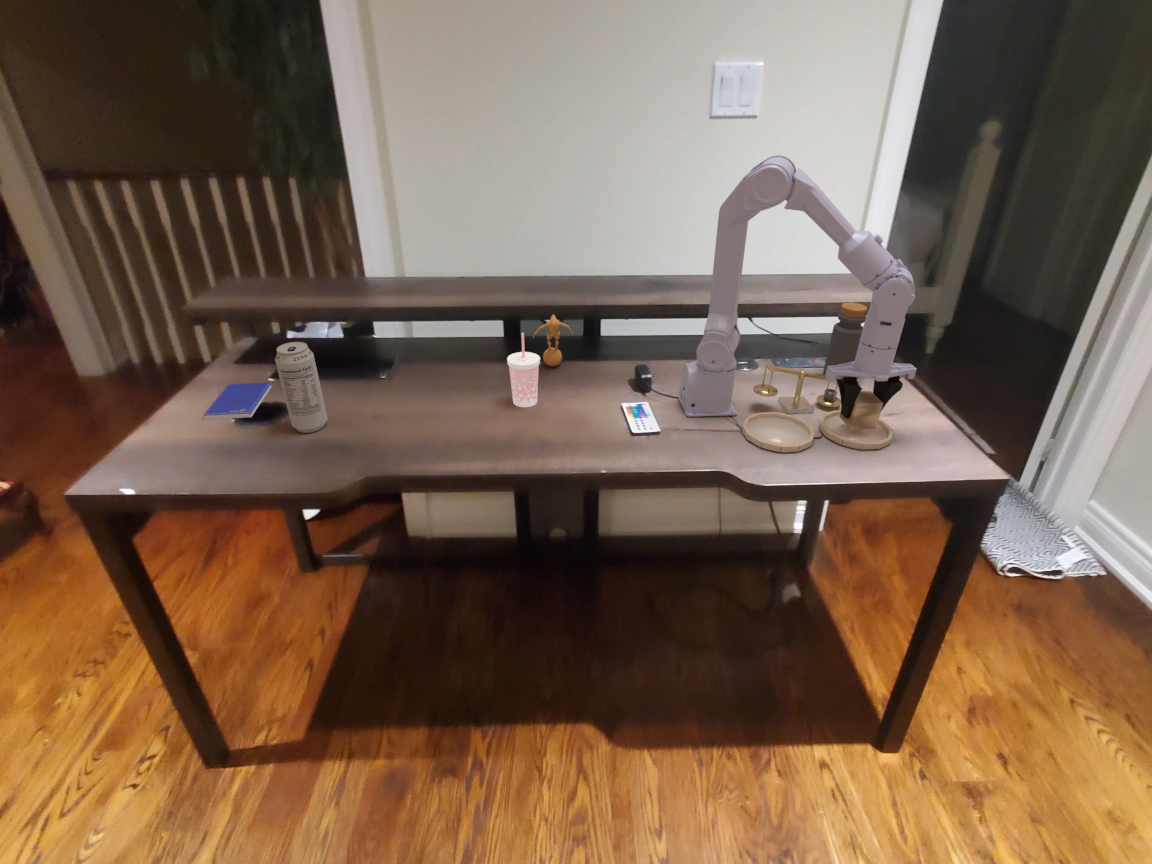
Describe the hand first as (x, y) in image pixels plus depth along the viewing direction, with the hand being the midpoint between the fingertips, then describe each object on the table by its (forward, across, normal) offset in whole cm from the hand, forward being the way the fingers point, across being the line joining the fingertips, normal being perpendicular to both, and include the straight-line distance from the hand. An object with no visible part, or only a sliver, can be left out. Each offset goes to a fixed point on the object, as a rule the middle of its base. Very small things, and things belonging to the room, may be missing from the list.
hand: (859, 415), depth 111 cm
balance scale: (+3, -7, +10) cm, 13 cm away
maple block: (+1, 0, 0) cm, 1 cm away
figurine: (+4, -52, +30) cm, 60 cm away
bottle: (+4, +7, +23) cm, 24 cm away
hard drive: (+4, -112, +18) cm, 113 cm away
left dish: (+3, -14, 0) cm, 14 cm away
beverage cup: (+4, -58, +15) cm, 60 cm away
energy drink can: (+4, -96, +8) cm, 96 cm away
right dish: (+3, 0, 0) cm, 3 cm away
